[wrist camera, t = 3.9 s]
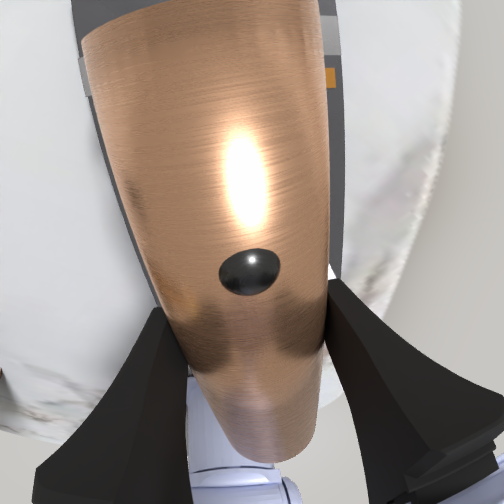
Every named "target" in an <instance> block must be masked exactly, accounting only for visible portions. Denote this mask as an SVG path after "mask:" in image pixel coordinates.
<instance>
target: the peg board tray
mask: <svg viewBox="0 0 504 504" xmlns="http://www.w3.org/2000/svg"><path fill="white" fill-rule="evenodd" d="M166 1H171V0H71V4H72V12H73V19H74V26H75V32H76V38H77V44H78V50H79V55H80V58H78V62H79V67H80V72H81V77H82V82H83V86H84V91H85V95H86V97H88V98H89V102H90V106H91V111H92V115H93V119H94V122H95V126H96V130H97V134H98V138H99V141H100V145H101V148H102V152H103V155H104V159H105V162H106V166H107V169H108V172H109V175H110V179H111V182H112V185H113V188H114V191H115V194H116V197H117V200H118V203H119V206H120V209H121V212H122V215H123V218H124V221H125V224H126V227H127V229H128V232H129V235H130V238H131V240H132V243H133V246H134V248H135V251H136V254H137V256H138V259H139V262H140V264H141V267H142V269H143V272H144V274H145V277H146V279H147V282H148V284H149V287H150V289H151V291H152V294H153V296H154V298H155V301H156V303H157V305H158V307H162V305H161V303H160V301H159V298H158V296H157V293H156V291H155V289H154V286H153V284H152V281H151V279H150V276H149V274H148V271H147V269H146V266H145V264H144V261H143V258H142V256H141V253H140V250H139V248H138V245H137V242H136V240H135V237H134V234H133V231H132V229H131V226H130V223H129V220H128V217H127V214H126V211H125V209H124V206H123V203H122V200H121V197H120V194H119V190H118V187H117V184H116V181H115V178H114V175H113V171H112V168H111V165H110V161H109V158H108V154H107V151H106V148H105V144H104V140H103V137H102V133H101V129H100V126H99V122H98V118H97V114H96V110H95V106H94V102H93V97H92V93H91V89H90V84H89V80H88V75H87V70H86V65H85V60H84V55H83V50H82V45H81V41H82V39H83V38H84V37H85V36H86V35H87V34H89V33H90V32H91V31H93V30H95V29H96V28H98V27H100V26H102V25H104V24H105V23H107V22H109V21H112V20H114V19H116V18H118V17H121V16H123V15H126V14H128V13H131V12H134V11H136V10H139V9H142V8H145V7H149V6H152V5H155V4H159V3H162V2H166ZM317 1H318V5H319V13H320V22H321V31H322V41H323V51H324V63H325V76H326V91H327V108H328V129H329V162H330V235H329V269H328V280H330V279H335V278H339V279H341V264H342V248H343V227H344V196H345V130H344V100H343V80H342V65H341V47H340V36H339V26H338V16H337V11H336V3H335V0H317Z"/></svg>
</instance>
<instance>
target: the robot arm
mask: <svg viewBox="0 0 504 504" xmlns="http://www.w3.org/2000/svg"><path fill="white" fill-rule="evenodd" d="M324 339H325V343H326V346H327V349H328V352H329V354H330V357H331V359H332V362H333V364H334V367H335V369H336V372H337V374H338V377H339V380H340V382H341V385H342V387H343V390H344V392H345V395H346V397H347V400H348V403H349V406H350V409H351V413H352V417H353V421H354V425H355V429H356V433H357V438H358V442H359V446H360V451H361V456H362V461H363V466H364V472H365V477H366V484H367V489H368V497H369V504H504V453H503V454H501V455H500V456H498V457H497V458H495V456H494V454H493V450H495V449H496V445H495V443H494V441H493V440H494V439H495V438H496V437H497V436H498V435H499V434H501V433H502V432H503V431H504V397H503V395H501V394H499V393H496V392H494V391H491V390H488V389H486V388H483V387H481V386H479V385H476V384H474V383H472V382H470V381H468V380H466V379H464V378H462V377H460V376H458V375H457V374H455V373H453V372H451V371H450V370H448V369H446V368H444V367H443V366H441V365H440V364H438V363H436V362H434V361H433V360H432V359H430V358H429V357H427V356H426V355H424V354H422V353H421V352H420V351H418V350H417V349H416V348H414V347H413V346H412V345H410V344H409V343H408V342H406V341H405V340H404V339H403V338H402V337H400V336H399V335H398V334H396V332H394V331H393V330H392V329H391V328H390V327H389V326H387V325H386V324H385V323H384V322H383V321H382V320H381V319H380V318H379V317H378V316H377V315H375V314H374V313H373V312H372V311H371V310H370V309H369V308H368V307H367V306H366V305H365V304H364V303H363V302H362V301H361V300H360V299H359V298H358V297H357V296H356V295H355V294H354V293H353V292H352V291H351V290H350V289H349V288H348V287H347V286H346V285H345V283H344V282H343V281H342V280H341V279H339V278H335V279H330V280H328V292H327V309H326V325H325V338H324ZM186 404H187V406H188V458H189V469H188V461H187V450H186V438H185V417H186ZM32 503H33V504H303V503H302V498H301V495H300V492H299V489H298V487H297V485H296V484H295V483H294V482H292V481H291V480H290V479H289V478H288V477H281V473H280V469H275V468H274V463H259V462H255V461H252V460H249V459H247V458H245V457H243V456H242V455H240V454H239V453H238V452H237V451H236V450H235V449H234V448H233V447H232V445H231V444H230V442H229V440H228V439H227V437H226V435H225V433H224V432H223V430H222V428H221V426H220V424H219V423H218V421H217V419H216V417H215V415H214V413H213V412H212V410H211V408H210V406H209V404H208V402H207V400H206V398H205V396H204V394H203V393H202V391H201V389H200V387H199V385H198V383H197V381H196V379H195V377H188V362H187V360H186V358H185V356H184V354H183V352H182V350H181V348H180V346H179V343H178V341H177V339H176V337H175V335H174V333H173V330H172V328H171V326H170V324H169V321H168V319H167V317H166V315H165V312H164V310H163V308H162V307H157V308H154V309H153V310H152V312H151V314H150V316H149V318H148V320H147V322H146V324H145V326H144V328H143V329H142V331H141V333H140V335H139V337H138V339H137V341H136V343H135V345H134V347H133V348H132V350H131V352H130V354H129V356H128V358H127V359H126V361H125V363H124V365H123V366H122V368H121V370H120V371H119V373H118V375H117V376H116V378H115V380H114V381H113V383H112V384H111V386H110V387H109V389H108V390H107V392H106V393H105V395H104V396H103V398H102V399H101V400H100V402H99V403H98V405H97V406H96V407H95V408H94V410H93V411H92V412H91V414H90V415H89V416H88V417H87V419H86V420H85V421H84V422H83V423H82V425H81V426H80V427H79V428H78V429H77V430H76V431H75V432H74V433H73V435H72V436H71V437H70V438H69V439H68V440H67V441H66V442H65V443H64V444H63V445H62V446H61V447H60V448H59V449H58V450H57V451H56V452H55V453H54V454H52V455H51V456H50V457H49V458H48V459H47V460H45V461H44V462H43V463H42V464H41V465H40V466H38V467H37V468H36V472H35V479H34V486H33V494H32Z"/></svg>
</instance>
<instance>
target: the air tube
mask: <svg viewBox="0 0 504 504" xmlns="http://www.w3.org/2000/svg"><path fill="white" fill-rule="evenodd" d="M81 45H82V50H83V55H84V60H85V65H86V70H87V75H88V80H89V84H90V89H91V93H92V97H93V102H94V106H95V110H96V114H97V118H98V122H99V126H100V129H101V133H102V137H103V140H104V144H105V148H106V151H107V154H108V158H109V161H110V165H111V168H112V171H113V175H114V178H115V181H116V184H117V187H118V190H119V194H120V197H121V200H122V203H123V206H124V209H125V211H126V214H127V217H128V220H129V223H130V226H131V229H132V231H133V234H134V237H135V240H136V242H137V245H138V248H139V250H140V253H141V256H142V258H143V261H144V264H145V266H146V269H147V271H148V274H149V276H150V279H151V281H152V284H153V286H154V289H155V291H156V293H157V296H158V298H159V301H160V303H161V305H162V308H163V310H164V312H165V315H166V317H167V319H168V321H169V324H170V326H171V328H172V330H173V333H174V335H175V337H176V339H177V341H178V343H179V346H180V348H181V350H182V352H183V354H184V356H185V358H186V360H187V362H188V365H189V367H190V369H191V371H192V373H193V375H194V377H195V379H196V381H197V383H198V385H199V387H200V389H201V391H202V393H203V394H204V396H205V398H206V400H207V402H208V404H209V406H210V408H211V410H212V412H213V413H214V415H215V417H216V419H217V421H218V423H219V424H220V426H221V428H222V430H223V432H224V433H225V435H226V437H227V439H228V440H229V442H230V444H231V445H232V447H233V448H234V449H235V450H236V451H237V452H238V453H239V454H240V455H242V456H243V457H245V458H247V459H249V460H252V461H255V462H259V463H278V462H282V461H286V460H288V459H291V458H293V457H294V456H296V455H298V454H299V453H300V452H301V451H303V449H305V448H306V446H307V445H308V444H309V442H310V441H311V439H312V437H313V434H314V431H315V426H316V418H317V410H318V401H319V392H320V383H321V373H322V362H323V351H324V338H325V325H326V309H327V292H328V269H329V235H330V162H329V129H328V108H327V91H326V76H325V63H324V51H323V41H322V31H321V22H320V13H319V5H318V1H317V0H171V1H166V2H162V3H159V4H155V5H152V6H149V7H145V8H142V9H139V10H136V11H134V12H131V13H128V14H126V15H123V16H121V17H118V18H116V19H114V20H112V21H109V22H107V23H105V24H104V25H102V26H100V27H98V28H96V29H95V30H93V31H91V32H90V33H89V34H87V35H86V36H85V37H84V38H83V39H82V41H81Z"/></svg>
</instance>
